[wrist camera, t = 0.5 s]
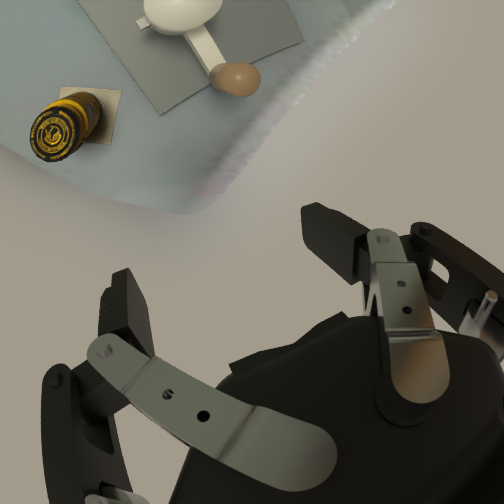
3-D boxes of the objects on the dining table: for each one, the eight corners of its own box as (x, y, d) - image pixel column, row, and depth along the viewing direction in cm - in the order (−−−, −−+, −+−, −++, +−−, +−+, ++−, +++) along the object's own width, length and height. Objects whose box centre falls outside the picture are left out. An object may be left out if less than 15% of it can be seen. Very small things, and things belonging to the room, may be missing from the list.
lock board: (75, -3, 14) (66, -13, 10) (232, -72, 13) (247, -86, 9) (159, 113, 30) (162, 120, 26) (298, 40, 29) (319, 40, 25)
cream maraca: (123, 8, 16) (118, -12, 10) (200, -29, 15) (220, -55, 10) (191, 107, 26) (206, 120, 21) (258, 70, 26) (292, 74, 20)
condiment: (61, 87, 22) (25, 98, 13) (122, 90, 26) (112, 100, 17) (53, 140, 25) (20, 175, 17) (110, 144, 30) (98, 178, 21)
